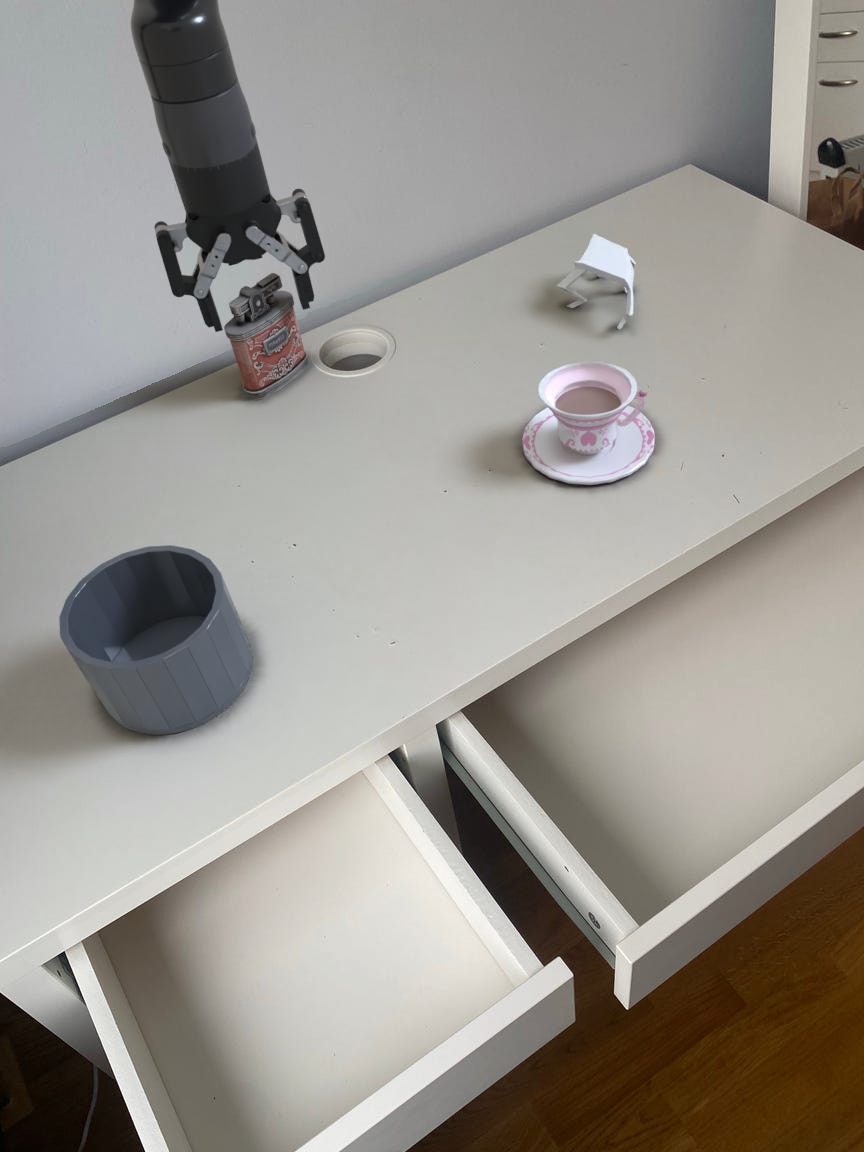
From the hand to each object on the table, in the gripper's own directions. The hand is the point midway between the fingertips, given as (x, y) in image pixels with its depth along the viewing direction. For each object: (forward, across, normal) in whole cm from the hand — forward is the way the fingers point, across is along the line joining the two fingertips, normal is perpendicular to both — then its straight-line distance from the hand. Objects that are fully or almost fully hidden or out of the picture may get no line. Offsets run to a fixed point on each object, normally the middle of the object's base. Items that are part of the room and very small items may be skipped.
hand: (261, 316), depth 94 cm
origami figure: (+7, -35, +2) cm, 36 cm away
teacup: (+7, -25, +22) cm, 34 cm away
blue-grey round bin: (+7, +14, +35) cm, 38 cm away
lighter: (+7, 0, 0) cm, 7 cm away
